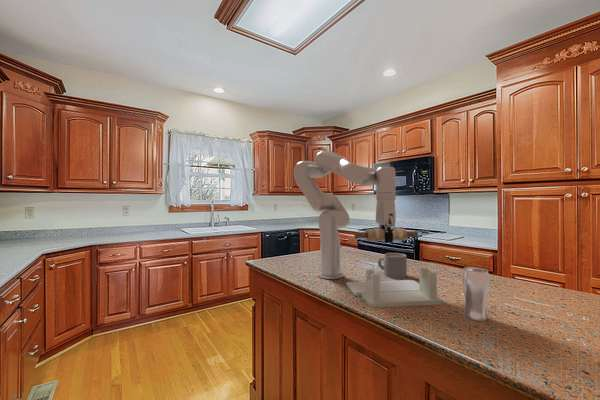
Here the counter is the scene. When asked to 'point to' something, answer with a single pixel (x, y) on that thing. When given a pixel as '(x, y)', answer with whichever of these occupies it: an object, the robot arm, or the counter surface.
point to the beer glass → (475, 293)
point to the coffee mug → (394, 265)
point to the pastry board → (385, 286)
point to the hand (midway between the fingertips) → (386, 240)
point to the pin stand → (402, 298)
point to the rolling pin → (380, 234)
